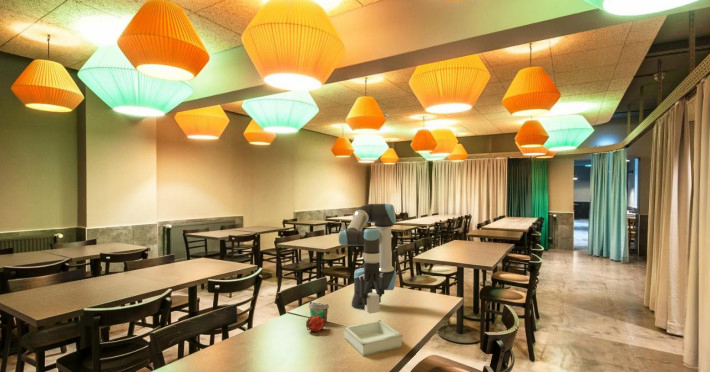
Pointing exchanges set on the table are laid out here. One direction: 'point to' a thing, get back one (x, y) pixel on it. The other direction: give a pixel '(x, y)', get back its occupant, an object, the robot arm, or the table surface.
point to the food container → (318, 310)
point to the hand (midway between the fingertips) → (372, 310)
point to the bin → (373, 337)
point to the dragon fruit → (315, 323)
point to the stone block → (373, 302)
